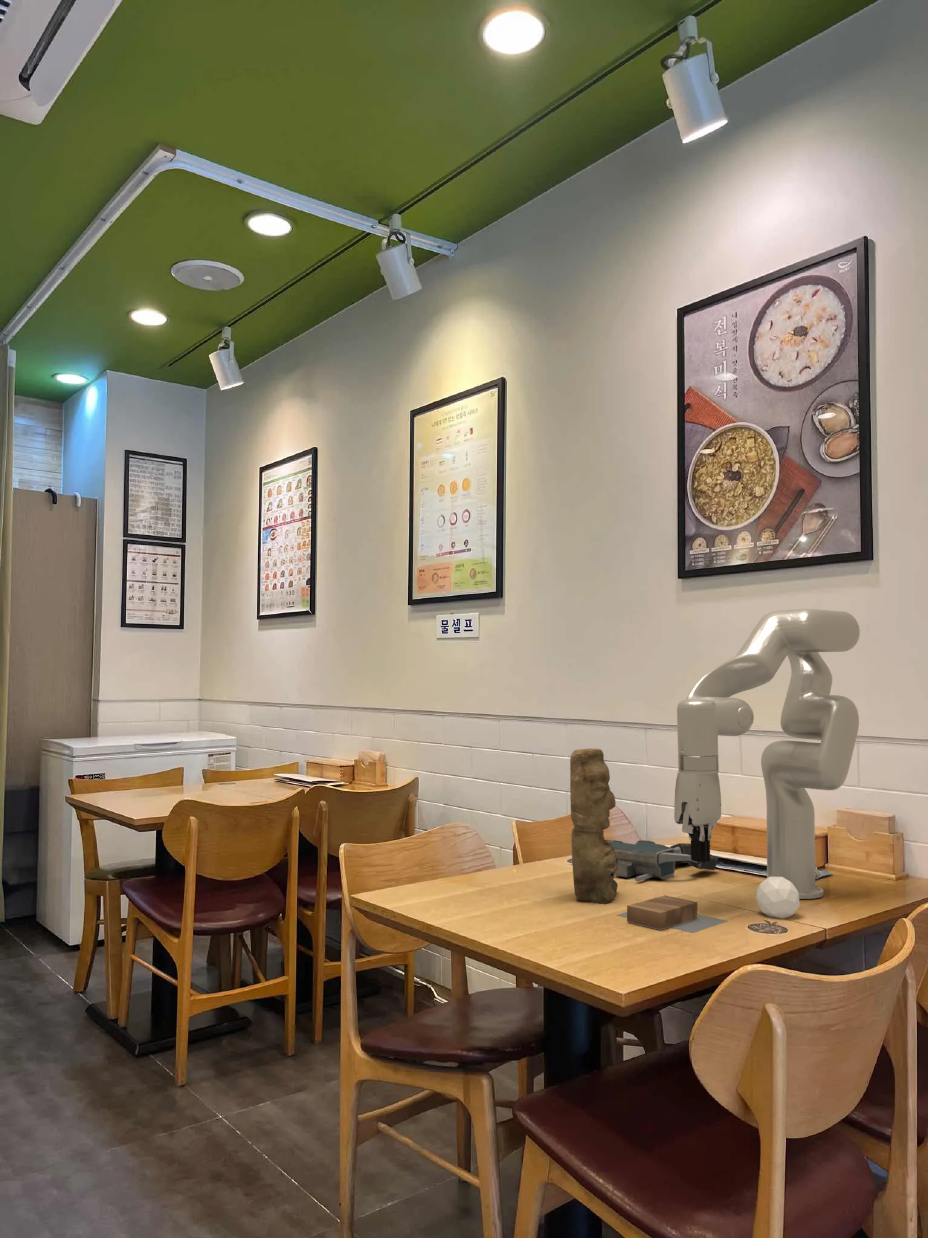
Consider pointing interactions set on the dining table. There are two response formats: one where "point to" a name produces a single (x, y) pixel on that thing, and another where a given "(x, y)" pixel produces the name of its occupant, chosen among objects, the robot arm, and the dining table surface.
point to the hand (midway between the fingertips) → (700, 860)
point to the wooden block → (662, 912)
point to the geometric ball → (777, 897)
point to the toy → (654, 859)
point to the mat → (694, 923)
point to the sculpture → (591, 827)
